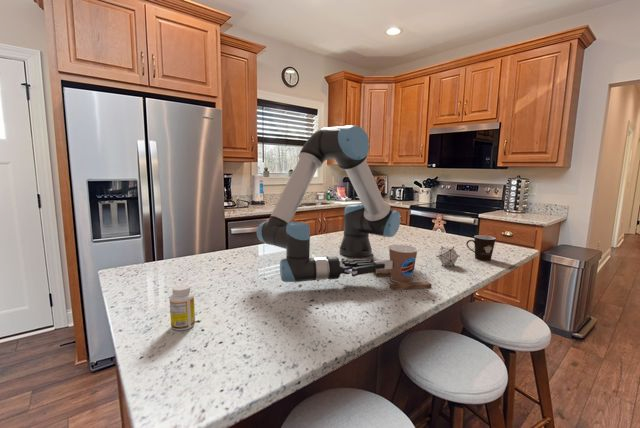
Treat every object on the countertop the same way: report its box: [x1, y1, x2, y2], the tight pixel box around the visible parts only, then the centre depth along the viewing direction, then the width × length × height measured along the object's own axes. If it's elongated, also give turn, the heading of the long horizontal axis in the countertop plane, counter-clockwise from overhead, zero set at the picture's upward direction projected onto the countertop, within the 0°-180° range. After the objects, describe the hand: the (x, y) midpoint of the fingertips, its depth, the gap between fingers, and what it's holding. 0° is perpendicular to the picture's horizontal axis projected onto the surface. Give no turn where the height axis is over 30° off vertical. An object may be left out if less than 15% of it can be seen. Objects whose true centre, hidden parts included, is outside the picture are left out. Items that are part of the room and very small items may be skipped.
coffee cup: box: [388, 244, 419, 283], centre depth 115 cm, size 10×10×12 cm
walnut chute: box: [372, 269, 432, 291], centre depth 116 cm, size 14×17×1 cm
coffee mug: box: [465, 234, 497, 262], centre depth 145 cm, size 12×9×10 cm
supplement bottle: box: [169, 284, 196, 332], centre depth 80 cm, size 6×6×10 cm
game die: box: [435, 245, 461, 268], centre depth 134 cm, size 9×8×10 cm
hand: (391, 264), depth 113 cm, fingers closed
